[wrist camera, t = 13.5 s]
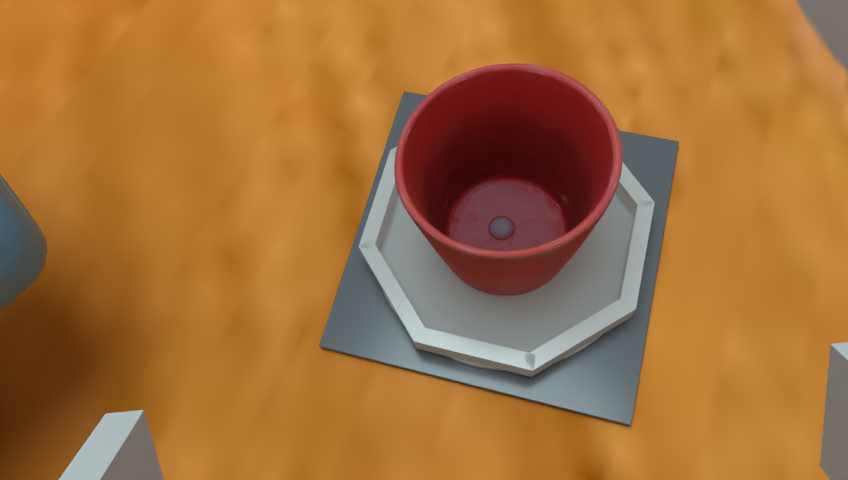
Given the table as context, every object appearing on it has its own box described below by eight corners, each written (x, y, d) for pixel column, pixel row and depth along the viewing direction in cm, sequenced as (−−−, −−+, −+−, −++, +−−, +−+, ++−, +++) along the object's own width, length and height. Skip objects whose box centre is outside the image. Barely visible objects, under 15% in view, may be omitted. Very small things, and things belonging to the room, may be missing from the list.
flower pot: (396, 180, 47) (372, 90, 38) (566, 138, 47) (583, 39, 38) (435, 341, 42) (419, 282, 33) (623, 294, 42) (656, 223, 33)
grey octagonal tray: (321, 348, 44) (310, 335, 42) (404, 95, 50) (399, 70, 48) (629, 426, 41) (638, 417, 38) (677, 145, 47) (687, 121, 45)
